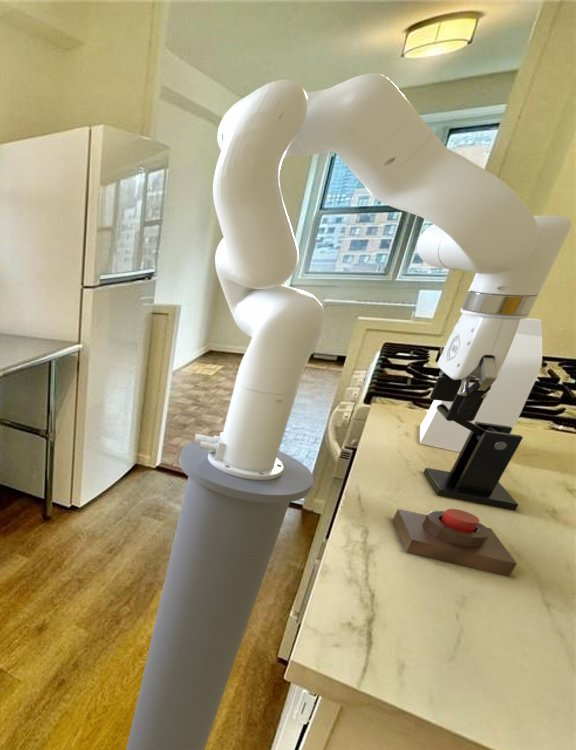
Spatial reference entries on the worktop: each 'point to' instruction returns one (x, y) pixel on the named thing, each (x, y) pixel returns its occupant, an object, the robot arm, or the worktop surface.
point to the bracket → (479, 469)
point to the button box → (452, 542)
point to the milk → (494, 392)
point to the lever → (463, 422)
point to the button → (460, 520)
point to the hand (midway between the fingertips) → (449, 409)
